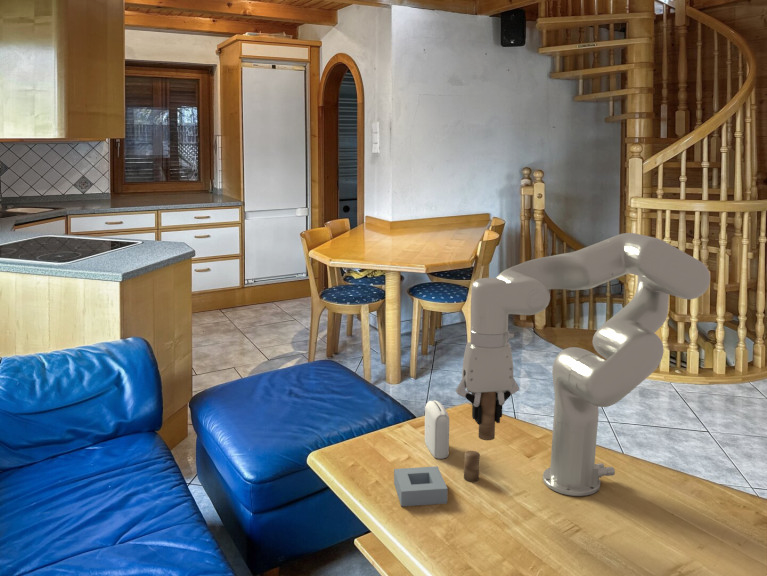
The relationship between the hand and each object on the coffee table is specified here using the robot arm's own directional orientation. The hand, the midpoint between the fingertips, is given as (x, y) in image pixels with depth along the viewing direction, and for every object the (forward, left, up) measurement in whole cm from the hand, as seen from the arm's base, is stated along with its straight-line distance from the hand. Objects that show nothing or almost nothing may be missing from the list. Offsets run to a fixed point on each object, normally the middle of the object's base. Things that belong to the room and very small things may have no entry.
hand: (486, 420), depth 145 cm
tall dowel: (0, 0, -4) cm, 4 cm away
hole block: (+13, -4, -18) cm, 23 cm away
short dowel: (0, -9, -18) cm, 20 cm away
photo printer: (+5, -24, -18) cm, 31 cm away
